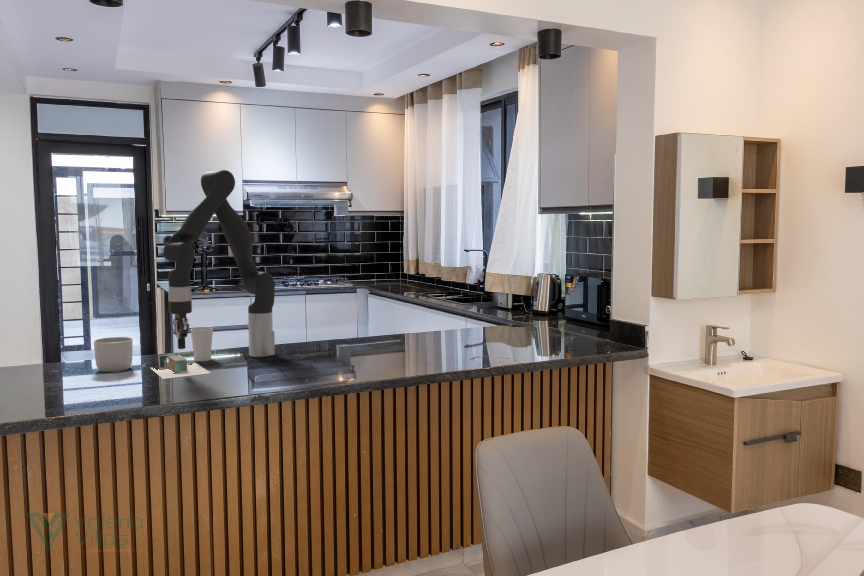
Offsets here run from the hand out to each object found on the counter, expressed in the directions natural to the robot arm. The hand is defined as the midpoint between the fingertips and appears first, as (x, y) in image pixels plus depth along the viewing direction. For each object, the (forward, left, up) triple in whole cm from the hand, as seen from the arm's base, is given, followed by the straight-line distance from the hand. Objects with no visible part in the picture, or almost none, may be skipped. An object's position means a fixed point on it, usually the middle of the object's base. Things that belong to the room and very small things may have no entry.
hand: (181, 348), depth 232 cm
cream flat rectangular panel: (0, -3, -8) cm, 9 cm away
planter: (+19, -17, -9) cm, 27 cm away
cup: (-12, -18, -9) cm, 23 cm away
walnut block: (0, -1, -6) cm, 6 cm away
